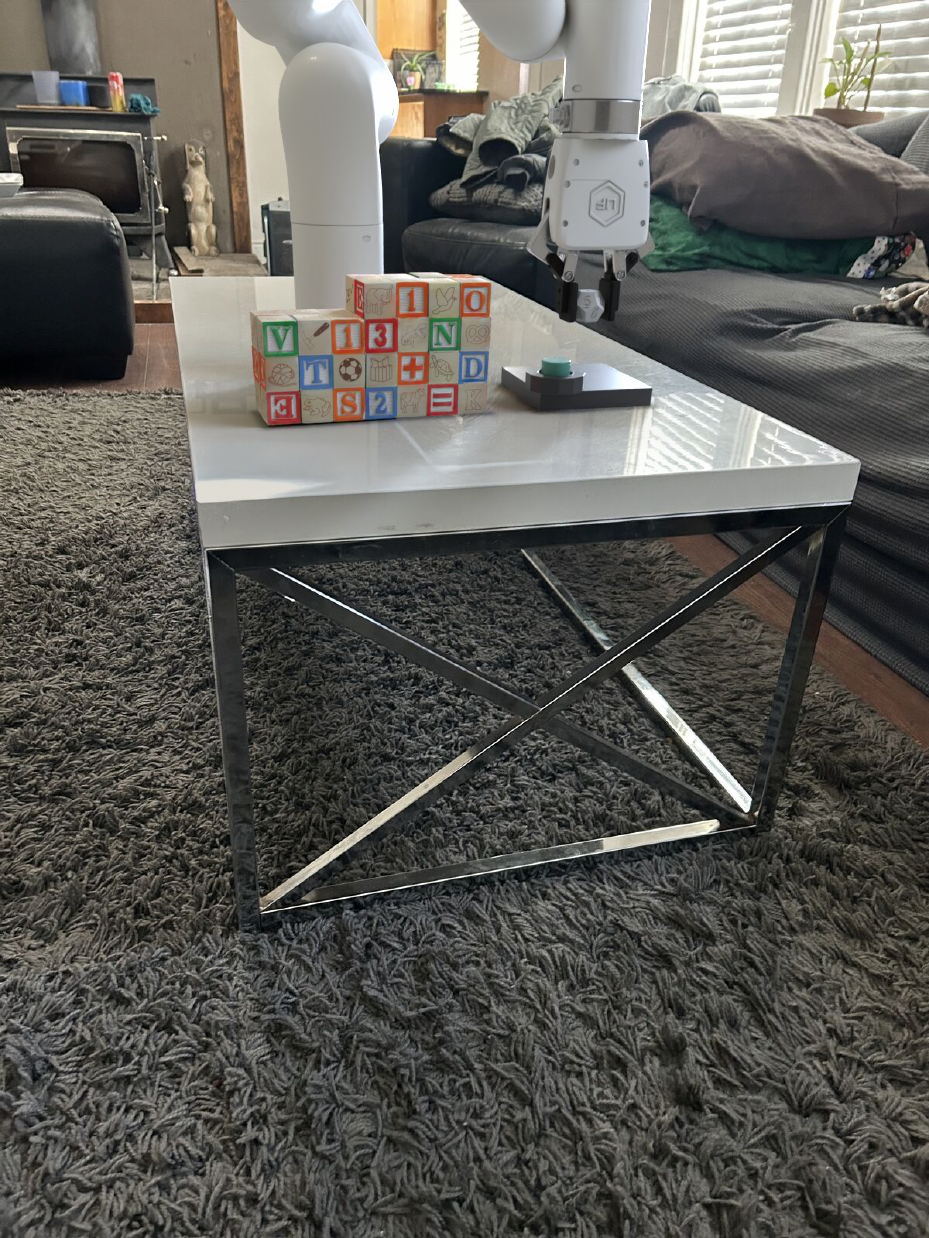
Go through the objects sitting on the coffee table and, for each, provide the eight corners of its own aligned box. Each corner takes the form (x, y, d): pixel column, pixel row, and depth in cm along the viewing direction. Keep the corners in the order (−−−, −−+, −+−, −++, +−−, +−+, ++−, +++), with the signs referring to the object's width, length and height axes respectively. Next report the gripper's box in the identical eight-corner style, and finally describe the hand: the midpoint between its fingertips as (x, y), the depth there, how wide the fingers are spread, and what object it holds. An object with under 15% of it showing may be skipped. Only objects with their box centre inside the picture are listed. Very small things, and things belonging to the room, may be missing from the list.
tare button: (547, 379, 92) (548, 363, 92) (536, 373, 95) (537, 357, 94) (573, 378, 93) (575, 362, 92) (563, 372, 95) (564, 356, 95)
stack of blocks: (266, 428, 86) (257, 284, 80) (255, 411, 91) (245, 274, 85) (488, 413, 93) (493, 279, 87) (465, 398, 98) (469, 271, 92)
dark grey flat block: (536, 416, 92) (538, 379, 91) (493, 385, 104) (494, 352, 102) (656, 410, 96) (660, 374, 94) (602, 380, 107) (605, 348, 105)
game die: (581, 324, 98) (583, 294, 97) (562, 318, 101) (564, 289, 100) (610, 322, 99) (612, 292, 98) (591, 317, 102) (593, 287, 101)
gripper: (533, 120, 87) (523, 328, 95) (696, 125, 91) (674, 323, 99) (506, 121, 93) (499, 316, 101) (660, 125, 97) (642, 312, 106)
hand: (586, 318), depth 100 cm, fingers closed on game die, 3 cm apart
